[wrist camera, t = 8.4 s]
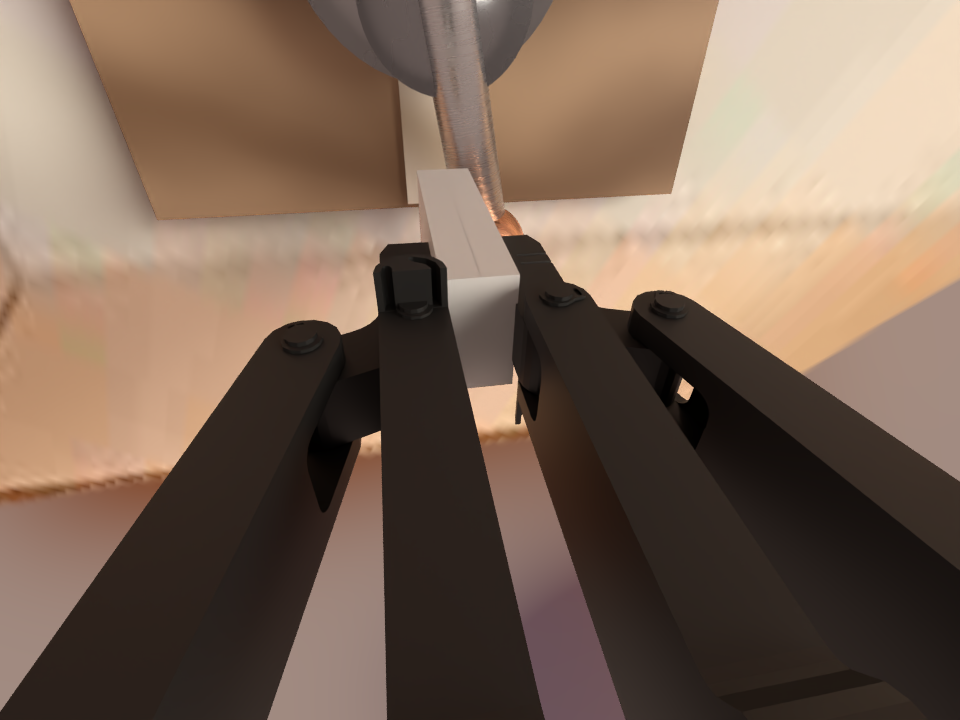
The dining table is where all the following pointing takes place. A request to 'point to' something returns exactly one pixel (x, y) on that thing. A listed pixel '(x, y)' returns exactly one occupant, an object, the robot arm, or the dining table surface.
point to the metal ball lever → (445, 67)
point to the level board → (385, 105)
